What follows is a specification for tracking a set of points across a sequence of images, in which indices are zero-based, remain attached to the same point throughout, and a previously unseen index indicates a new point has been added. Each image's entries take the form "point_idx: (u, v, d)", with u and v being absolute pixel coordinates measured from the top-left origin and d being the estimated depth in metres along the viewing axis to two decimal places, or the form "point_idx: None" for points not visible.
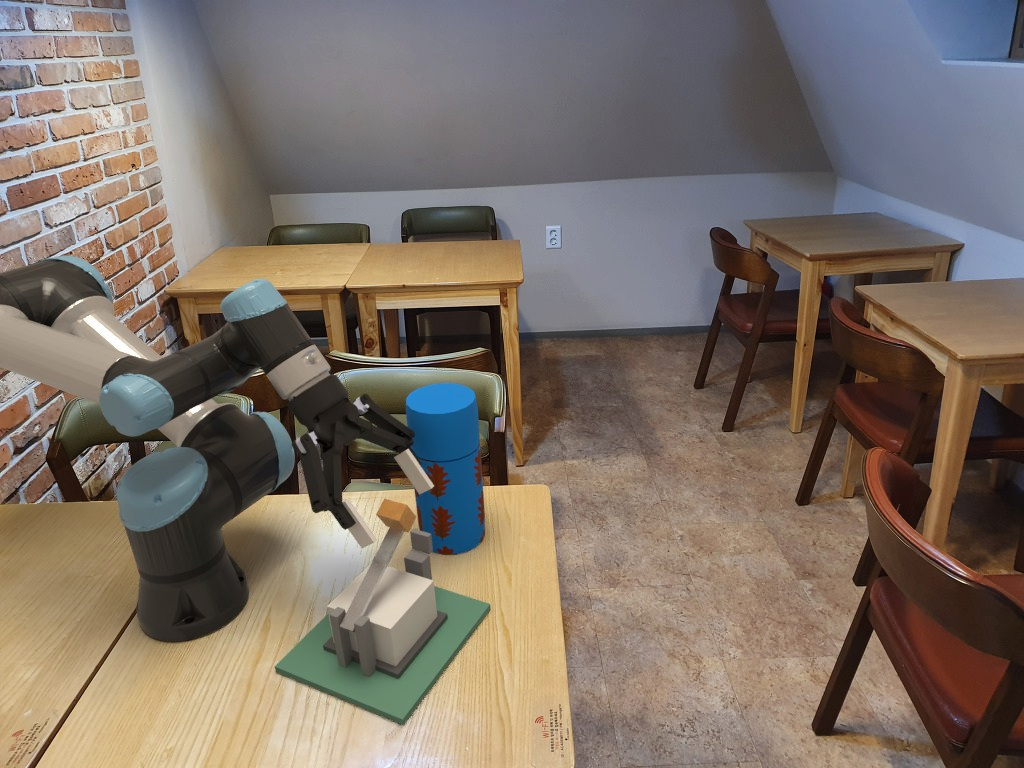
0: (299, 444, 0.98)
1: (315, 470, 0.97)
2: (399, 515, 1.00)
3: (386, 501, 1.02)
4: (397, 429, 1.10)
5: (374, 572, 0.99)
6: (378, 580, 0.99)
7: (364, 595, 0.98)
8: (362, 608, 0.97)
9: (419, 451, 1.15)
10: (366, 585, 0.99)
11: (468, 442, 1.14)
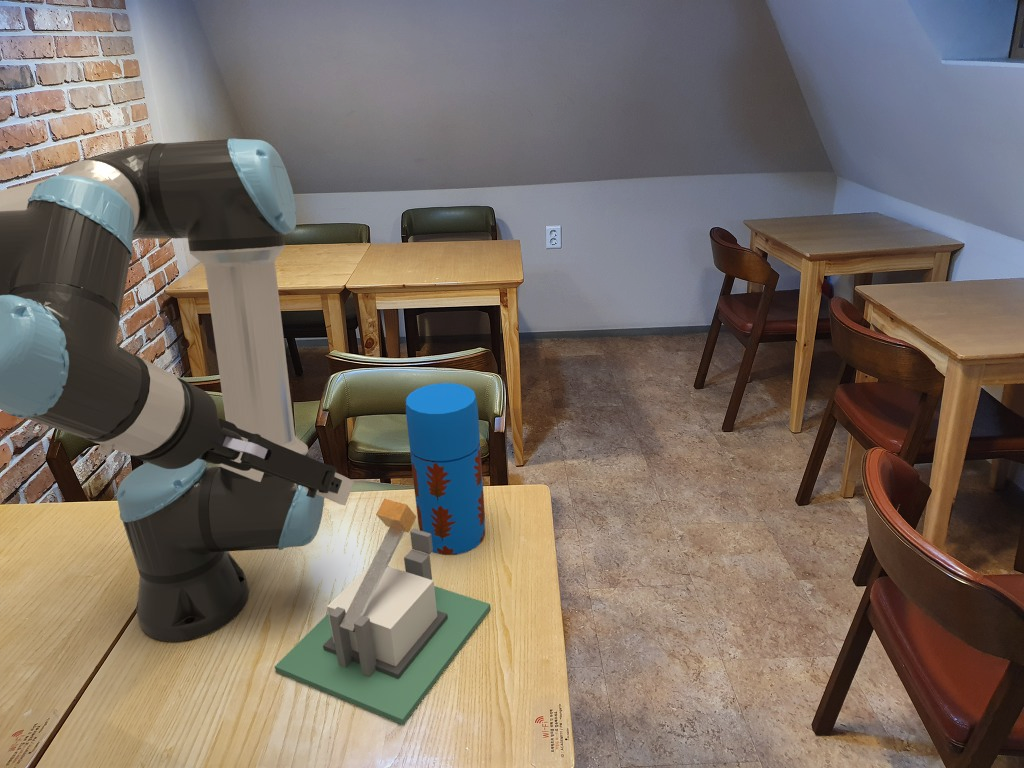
0: None
1: None
2: (399, 515, 1.00)
3: (386, 501, 1.02)
4: None
5: (374, 572, 0.99)
6: (378, 580, 0.99)
7: (364, 595, 0.98)
8: (362, 608, 0.97)
9: (419, 451, 1.15)
10: (366, 585, 0.99)
11: (468, 442, 1.14)
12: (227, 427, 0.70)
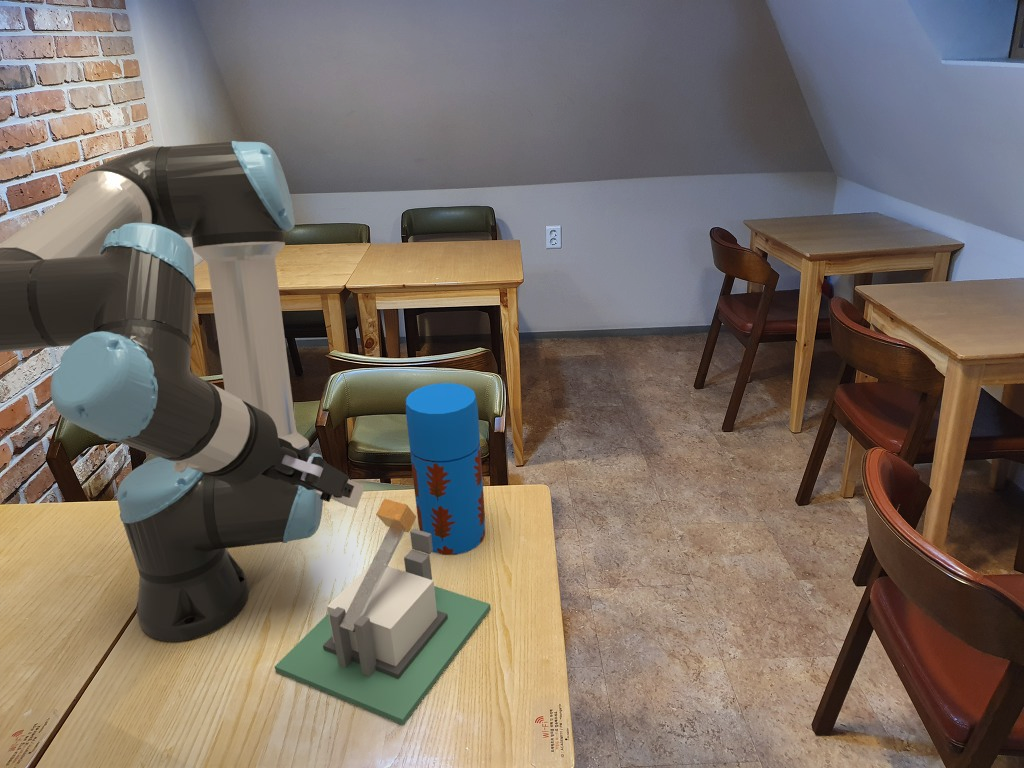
0: None
1: None
2: (399, 515, 1.00)
3: (386, 501, 1.02)
4: None
5: (374, 572, 0.99)
6: (378, 580, 0.99)
7: (364, 595, 0.98)
8: (362, 608, 0.97)
9: (419, 451, 1.15)
10: (366, 585, 0.99)
11: (468, 442, 1.14)
12: (286, 446, 0.77)
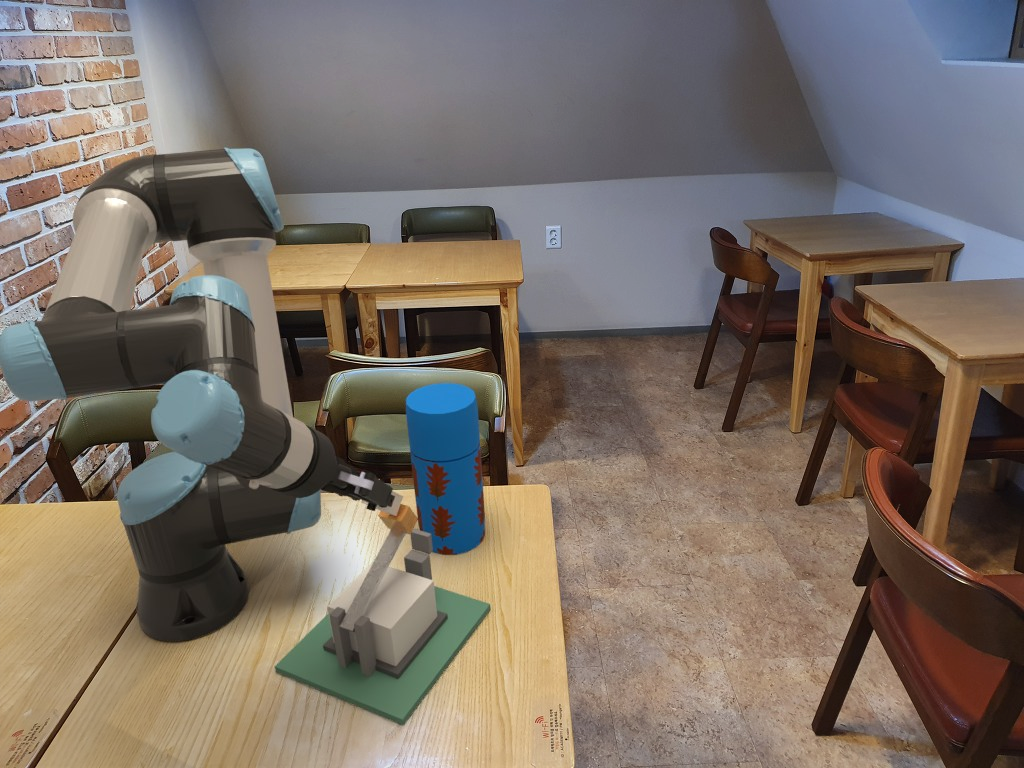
0: None
1: None
2: (401, 516, 1.00)
3: None
4: None
5: (374, 573, 1.00)
6: (378, 581, 0.99)
7: (365, 596, 0.98)
8: (362, 608, 0.97)
9: (419, 451, 1.15)
10: (367, 586, 0.99)
11: (468, 442, 1.14)
12: (340, 463, 0.86)
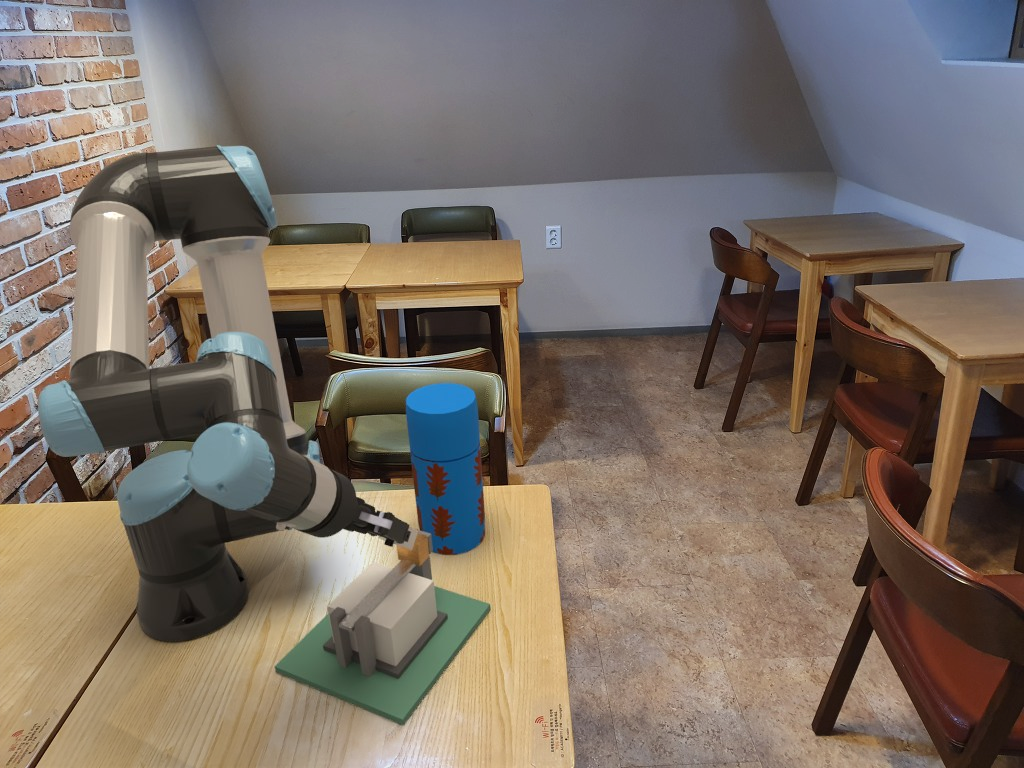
0: None
1: None
2: (419, 541, 1.05)
3: None
4: None
5: (381, 588, 1.02)
6: (384, 594, 1.01)
7: (368, 604, 0.99)
8: (364, 612, 0.97)
9: (419, 451, 1.15)
10: (371, 596, 1.00)
11: (468, 442, 1.14)
12: (360, 503, 0.90)
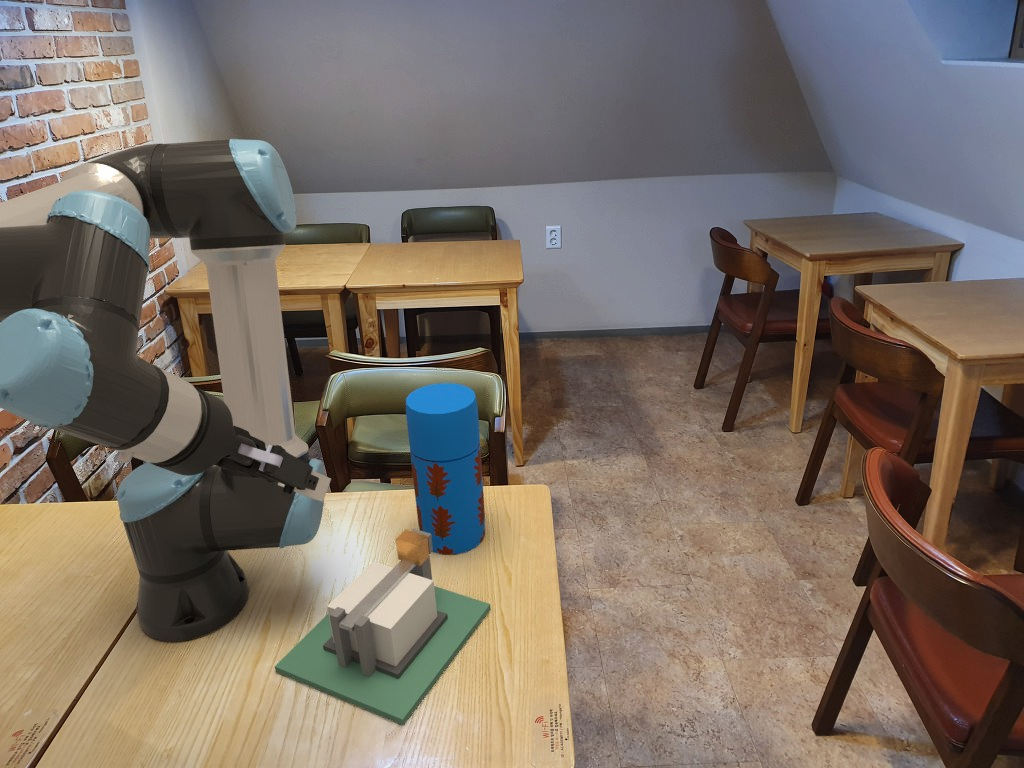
0: None
1: None
2: (419, 541, 1.05)
3: (407, 531, 1.08)
4: None
5: (381, 588, 1.02)
6: (384, 594, 1.01)
7: (368, 604, 0.99)
8: (364, 612, 0.97)
9: (419, 451, 1.15)
10: (371, 596, 1.00)
11: (468, 442, 1.14)
12: (243, 435, 0.72)
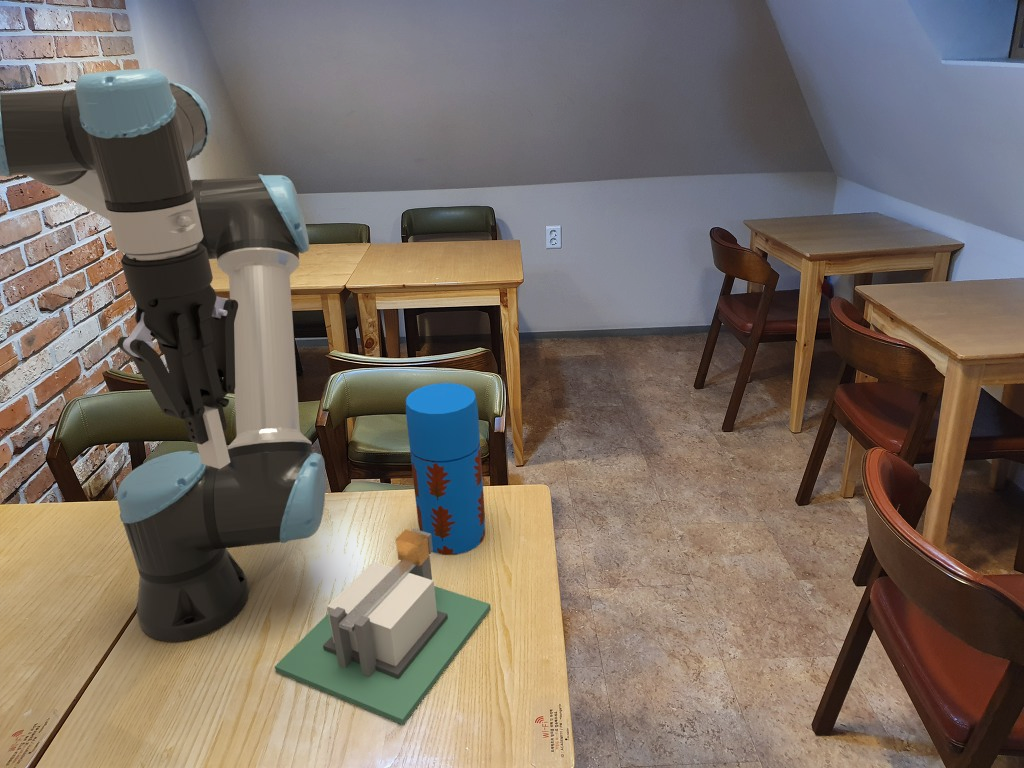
0: (130, 351, 0.71)
1: (162, 382, 0.73)
2: (419, 541, 1.05)
3: (407, 531, 1.08)
4: (223, 367, 0.80)
5: (381, 588, 1.02)
6: (384, 594, 1.01)
7: (368, 604, 0.99)
8: (364, 612, 0.97)
9: (419, 451, 1.15)
10: (371, 596, 1.00)
11: (468, 442, 1.14)
12: None
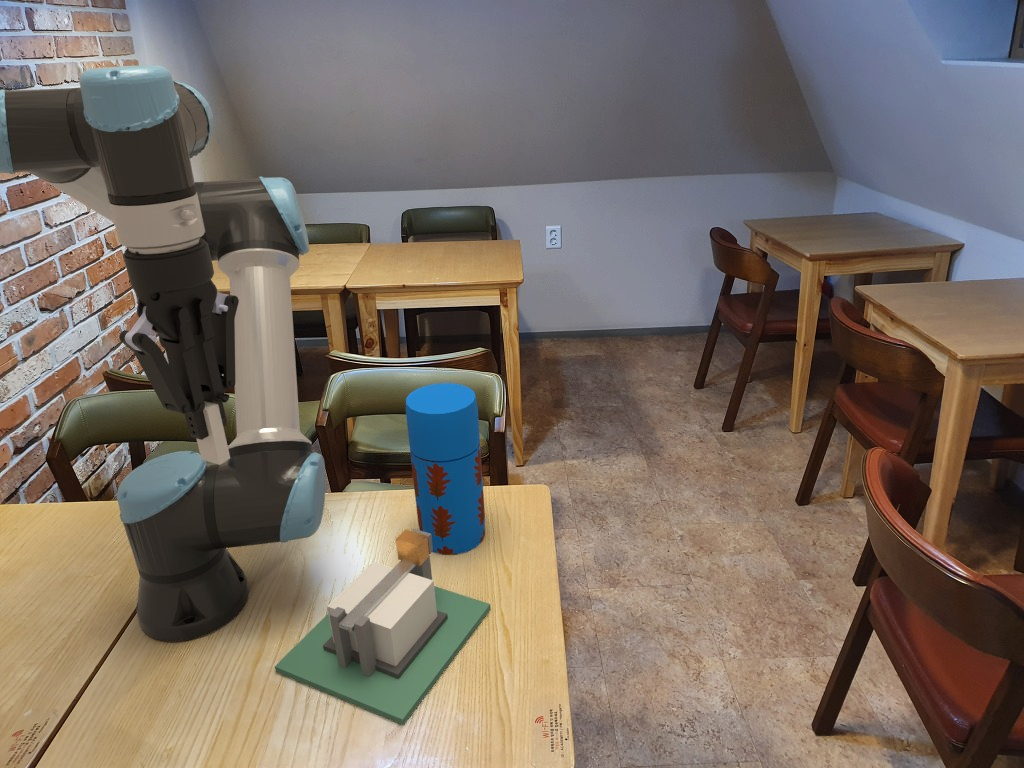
0: (131, 345, 0.71)
1: (163, 376, 0.74)
2: (419, 541, 1.05)
3: (407, 531, 1.08)
4: (224, 362, 0.80)
5: (381, 588, 1.02)
6: (384, 594, 1.01)
7: (368, 604, 0.99)
8: (364, 612, 0.97)
9: (419, 451, 1.15)
10: (371, 596, 1.00)
11: (468, 442, 1.14)
12: None
